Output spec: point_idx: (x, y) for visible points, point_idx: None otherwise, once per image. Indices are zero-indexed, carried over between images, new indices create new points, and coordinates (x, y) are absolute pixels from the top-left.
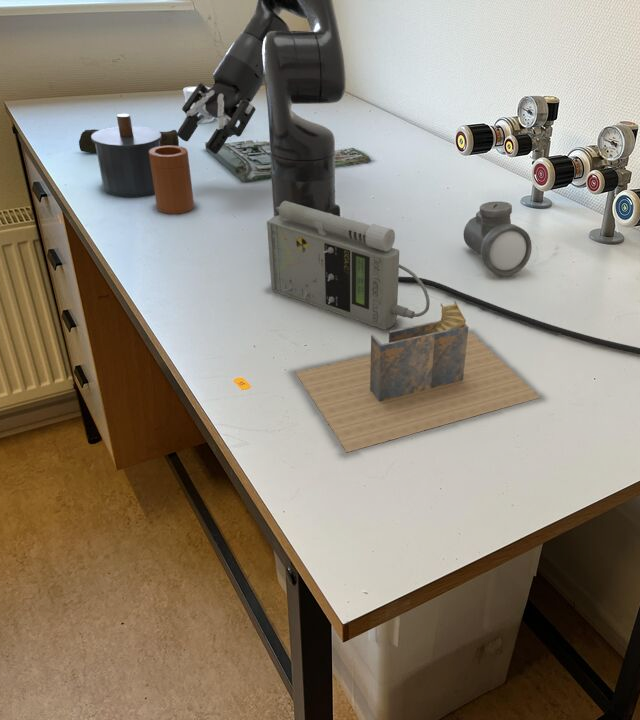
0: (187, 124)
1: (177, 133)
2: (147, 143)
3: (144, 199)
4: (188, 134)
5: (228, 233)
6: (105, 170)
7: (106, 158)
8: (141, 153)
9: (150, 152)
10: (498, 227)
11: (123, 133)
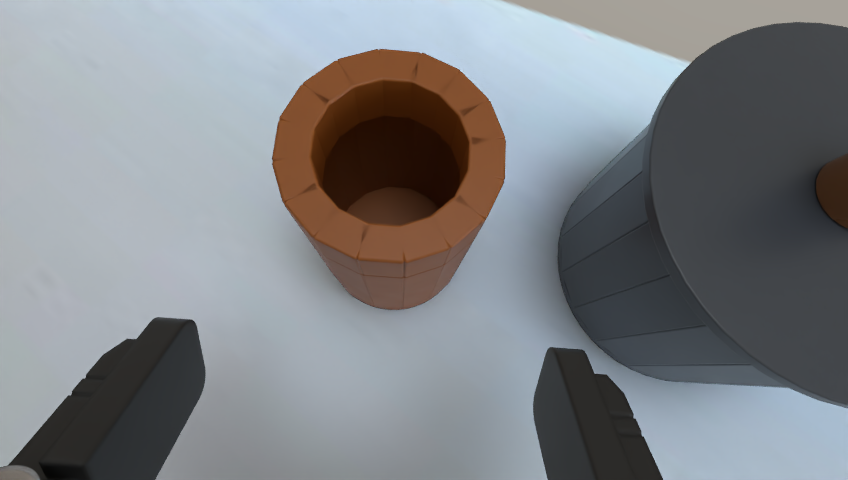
0: (578, 450)
1: (578, 350)
2: (649, 196)
3: (533, 215)
4: (548, 433)
5: (68, 222)
6: None
7: None
8: (635, 183)
9: (434, 64)
10: None
11: (845, 156)
